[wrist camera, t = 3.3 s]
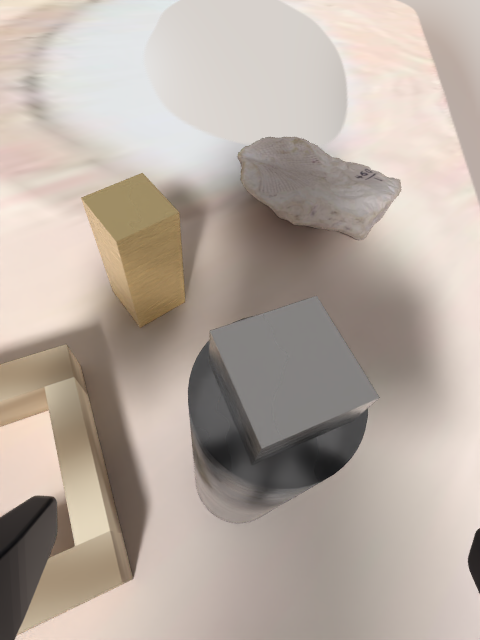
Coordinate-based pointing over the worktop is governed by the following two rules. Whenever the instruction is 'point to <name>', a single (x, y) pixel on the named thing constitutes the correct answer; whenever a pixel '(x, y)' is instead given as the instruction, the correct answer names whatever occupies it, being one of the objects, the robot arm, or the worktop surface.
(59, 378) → the block
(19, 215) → the worktop surface
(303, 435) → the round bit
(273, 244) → the worktop surface
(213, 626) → the worktop surface
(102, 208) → the square bit
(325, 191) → the fossil
